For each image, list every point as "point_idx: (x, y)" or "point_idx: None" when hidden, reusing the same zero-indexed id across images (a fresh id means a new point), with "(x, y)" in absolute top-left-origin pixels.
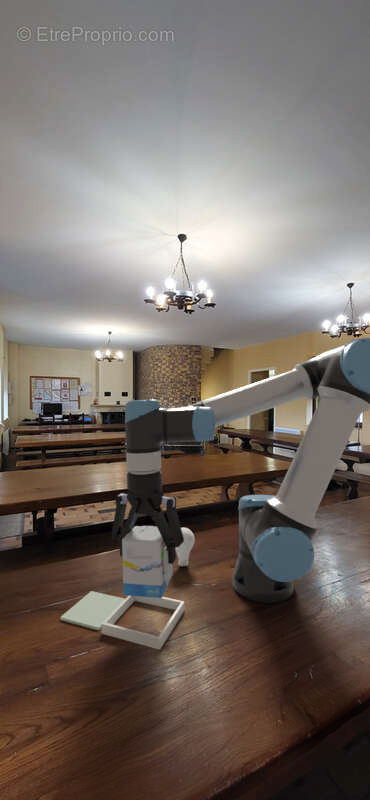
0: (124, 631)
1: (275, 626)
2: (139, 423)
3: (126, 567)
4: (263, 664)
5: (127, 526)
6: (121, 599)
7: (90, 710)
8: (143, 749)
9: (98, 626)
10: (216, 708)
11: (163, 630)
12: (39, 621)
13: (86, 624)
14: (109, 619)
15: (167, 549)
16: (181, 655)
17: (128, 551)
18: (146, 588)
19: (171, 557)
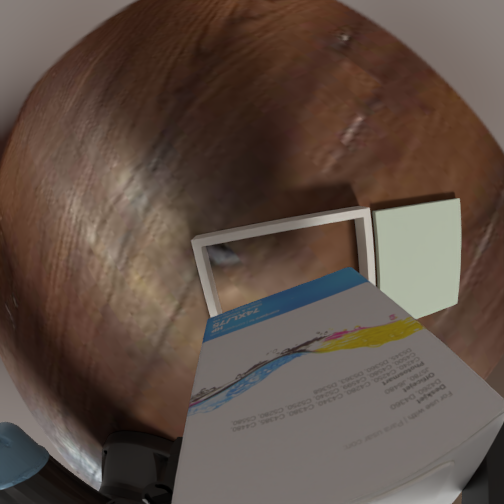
0: (299, 219)
1: (77, 386)
2: None
3: (387, 318)
4: (42, 301)
5: (499, 493)
6: None
7: (219, 45)
8: (103, 61)
9: (378, 214)
10: (47, 180)
11: (204, 273)
12: (477, 176)
13: (405, 206)
14: (364, 234)
15: (169, 488)
16: (146, 247)
17: (423, 382)
18: (263, 313)
19: (178, 460)
